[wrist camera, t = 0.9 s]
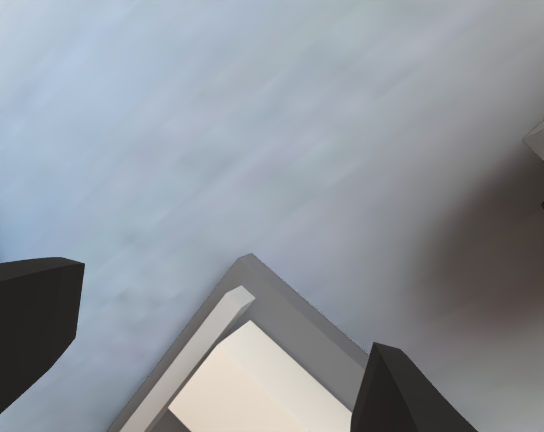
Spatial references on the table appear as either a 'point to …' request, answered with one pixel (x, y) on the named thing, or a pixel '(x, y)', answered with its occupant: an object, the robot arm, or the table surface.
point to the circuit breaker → (536, 142)
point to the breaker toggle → (256, 391)
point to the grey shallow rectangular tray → (230, 317)
